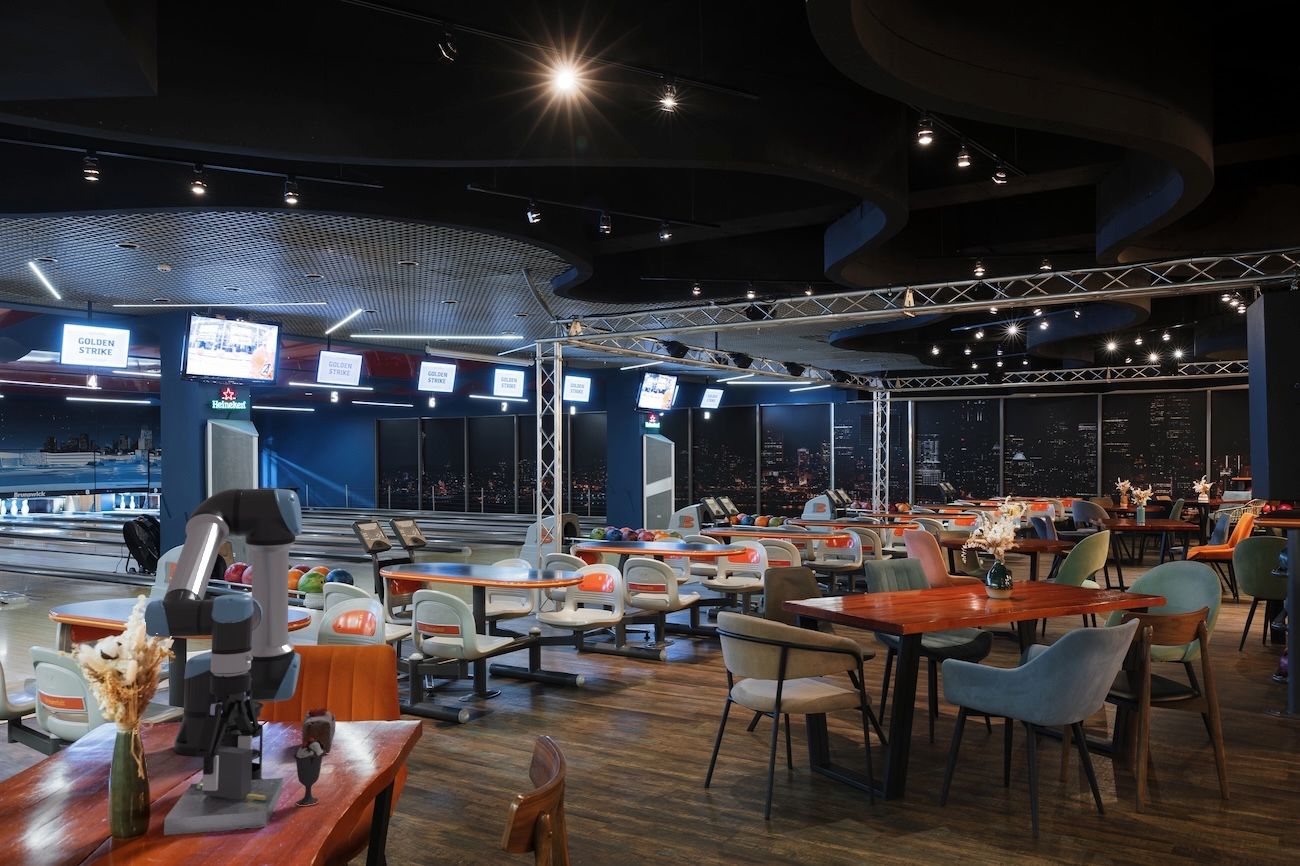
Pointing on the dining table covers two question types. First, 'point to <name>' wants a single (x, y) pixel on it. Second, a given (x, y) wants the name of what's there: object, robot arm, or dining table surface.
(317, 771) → the sundae
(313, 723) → the food item
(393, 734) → the dining table surface
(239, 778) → the dark grey rectangular block
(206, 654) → the robot arm
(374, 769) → the dining table surface
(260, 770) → the french press
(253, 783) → the base
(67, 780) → the dining table surface
